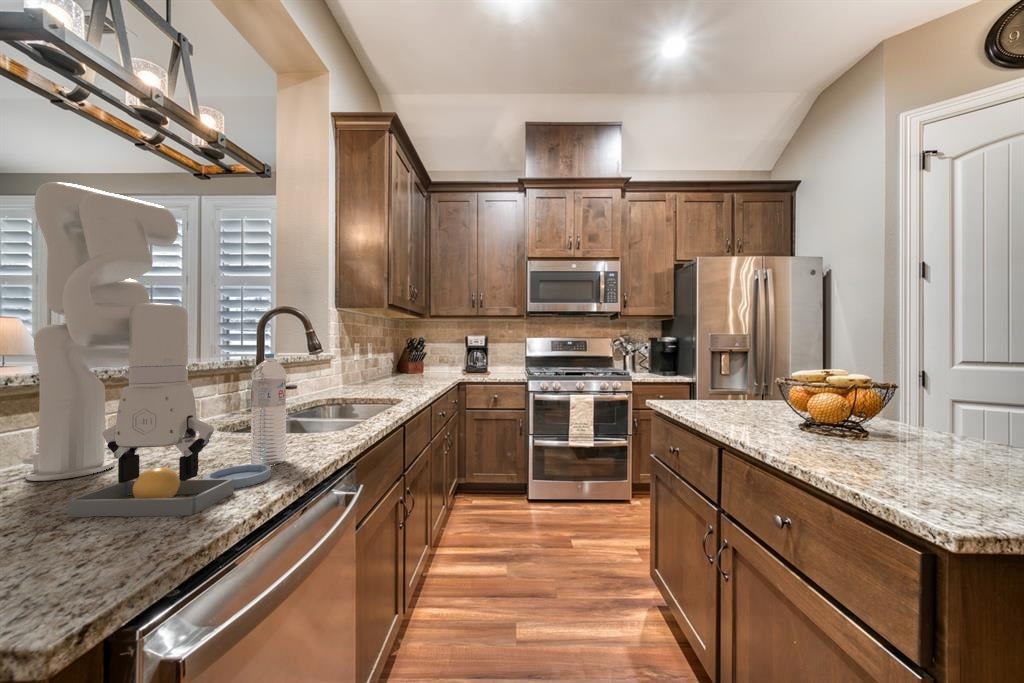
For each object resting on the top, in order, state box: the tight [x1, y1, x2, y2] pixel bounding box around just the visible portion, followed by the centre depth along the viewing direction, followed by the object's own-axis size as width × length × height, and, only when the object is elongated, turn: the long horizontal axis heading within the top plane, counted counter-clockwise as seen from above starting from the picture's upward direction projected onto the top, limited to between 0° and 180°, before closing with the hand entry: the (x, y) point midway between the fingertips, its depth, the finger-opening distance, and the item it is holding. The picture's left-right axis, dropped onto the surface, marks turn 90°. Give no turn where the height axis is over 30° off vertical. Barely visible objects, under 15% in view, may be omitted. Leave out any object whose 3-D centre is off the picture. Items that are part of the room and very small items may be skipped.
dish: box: [204, 463, 272, 490], centre depth 80 cm, size 11×11×2 cm
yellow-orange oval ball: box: [132, 466, 180, 499], centre depth 68 cm, size 6×6×6 cm
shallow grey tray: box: [66, 478, 234, 518], centre depth 68 cm, size 19×10×2 cm, turn 92°
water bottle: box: [250, 353, 287, 466], centre depth 92 cm, size 7×7×25 cm
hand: (158, 479), depth 68 cm, fingers open, 9 cm apart
